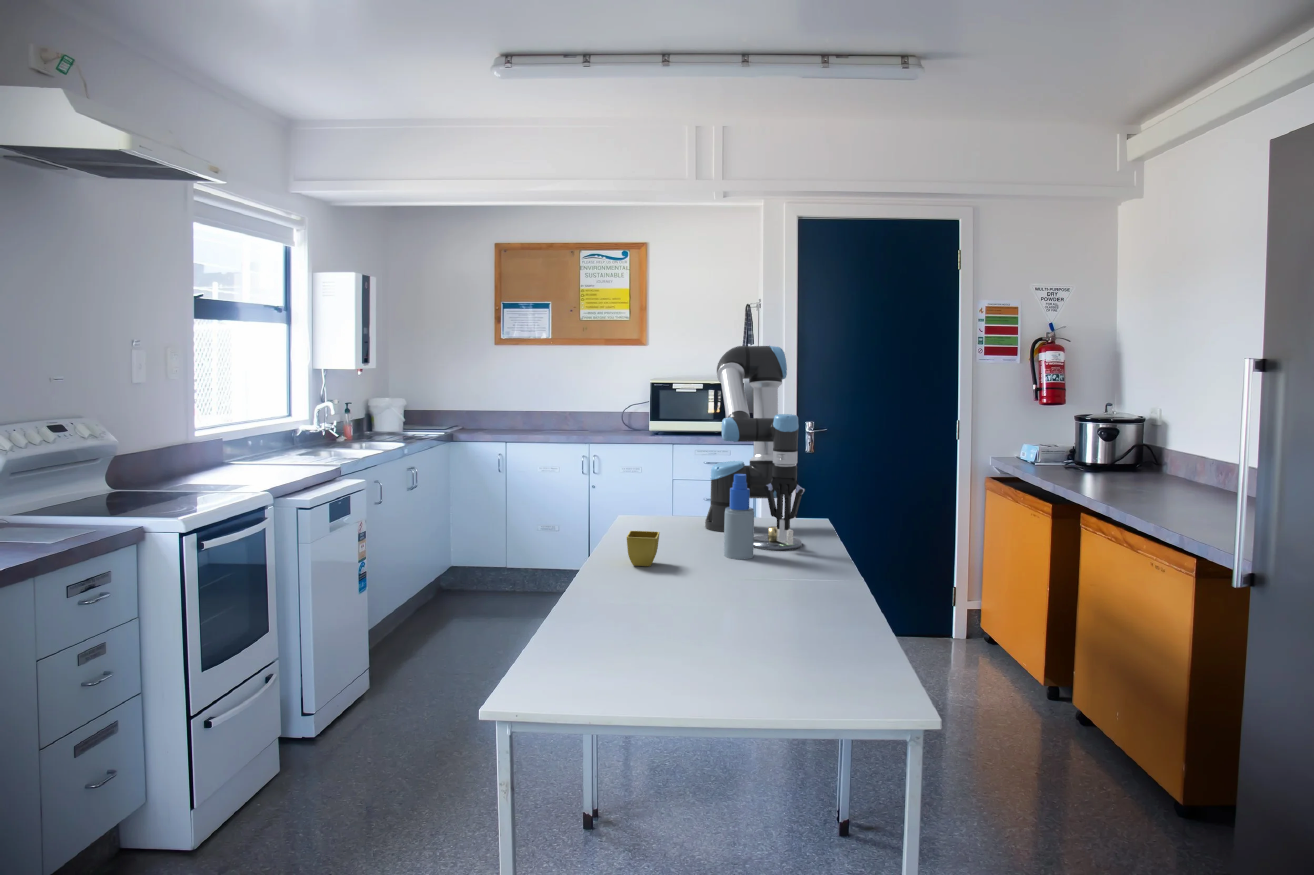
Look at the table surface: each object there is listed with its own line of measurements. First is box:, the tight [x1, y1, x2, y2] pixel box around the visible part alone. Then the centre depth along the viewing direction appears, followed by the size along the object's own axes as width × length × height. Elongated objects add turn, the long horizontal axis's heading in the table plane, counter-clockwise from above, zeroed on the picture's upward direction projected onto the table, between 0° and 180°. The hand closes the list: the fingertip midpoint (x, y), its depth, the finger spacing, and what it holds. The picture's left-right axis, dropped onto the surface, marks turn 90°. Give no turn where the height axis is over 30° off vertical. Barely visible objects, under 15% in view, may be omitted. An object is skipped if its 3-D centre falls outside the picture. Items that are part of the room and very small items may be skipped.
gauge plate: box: [753, 534, 802, 552], centre depth 261 cm, size 17×17×1 cm
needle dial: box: [767, 525, 794, 545], centre depth 258 cm, size 11×4×5 cm, turn 27°
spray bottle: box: [723, 474, 755, 560], centre depth 245 cm, size 9×9×25 cm
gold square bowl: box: [626, 530, 661, 567], centre depth 234 cm, size 9×9×9 cm
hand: (782, 539), depth 251 cm, fingers closed
